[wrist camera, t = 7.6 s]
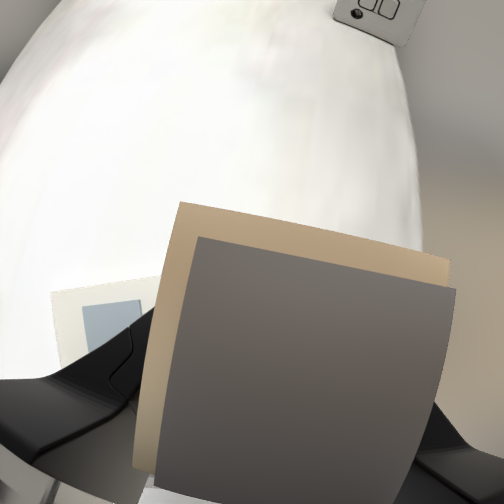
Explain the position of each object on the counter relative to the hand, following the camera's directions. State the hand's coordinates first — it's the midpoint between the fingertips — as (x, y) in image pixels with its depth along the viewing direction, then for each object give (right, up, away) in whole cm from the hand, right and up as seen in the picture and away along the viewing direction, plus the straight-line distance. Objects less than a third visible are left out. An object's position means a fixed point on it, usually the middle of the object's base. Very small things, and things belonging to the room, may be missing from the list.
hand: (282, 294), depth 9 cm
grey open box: (+14, +29, +18) cm, 37 cm away
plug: (0, -2, +6) cm, 7 cm away
